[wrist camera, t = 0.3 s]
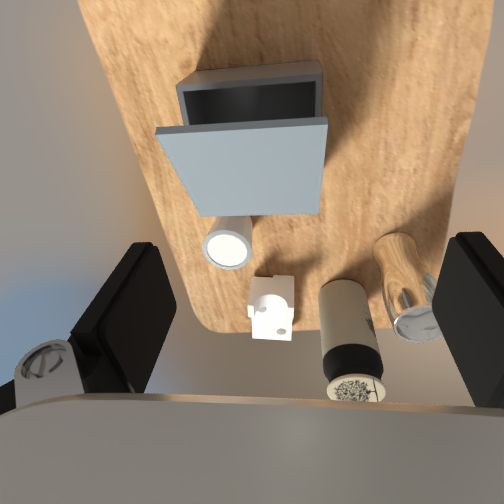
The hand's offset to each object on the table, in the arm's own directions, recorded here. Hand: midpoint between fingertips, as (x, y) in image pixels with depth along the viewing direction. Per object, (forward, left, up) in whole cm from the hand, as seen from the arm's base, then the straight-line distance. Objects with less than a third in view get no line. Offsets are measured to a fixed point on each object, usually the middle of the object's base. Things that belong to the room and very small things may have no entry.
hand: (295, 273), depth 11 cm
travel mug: (+34, +7, -34) cm, 49 cm away
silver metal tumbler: (+24, +14, -34) cm, 44 cm away
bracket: (+36, -4, -35) cm, 50 cm away
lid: (+6, -5, -22) cm, 24 cm away
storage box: (+5, -5, -34) cm, 35 cm away
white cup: (+19, -10, -34) cm, 40 cm away
